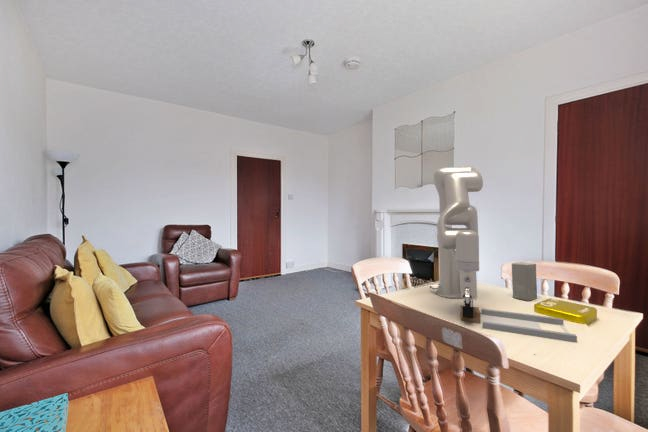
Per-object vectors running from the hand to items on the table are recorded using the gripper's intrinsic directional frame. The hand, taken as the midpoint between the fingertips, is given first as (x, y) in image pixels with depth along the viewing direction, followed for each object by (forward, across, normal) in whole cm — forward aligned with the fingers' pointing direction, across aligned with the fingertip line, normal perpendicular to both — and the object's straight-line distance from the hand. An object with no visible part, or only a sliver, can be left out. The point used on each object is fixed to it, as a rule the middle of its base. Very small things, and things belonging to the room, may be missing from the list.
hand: (468, 313), depth 102 cm
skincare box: (+2, +41, -22) cm, 46 cm away
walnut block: (+3, 0, -1) cm, 3 cm away
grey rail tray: (+3, +1, -16) cm, 17 cm away
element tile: (+4, +20, -32) cm, 38 cm away
